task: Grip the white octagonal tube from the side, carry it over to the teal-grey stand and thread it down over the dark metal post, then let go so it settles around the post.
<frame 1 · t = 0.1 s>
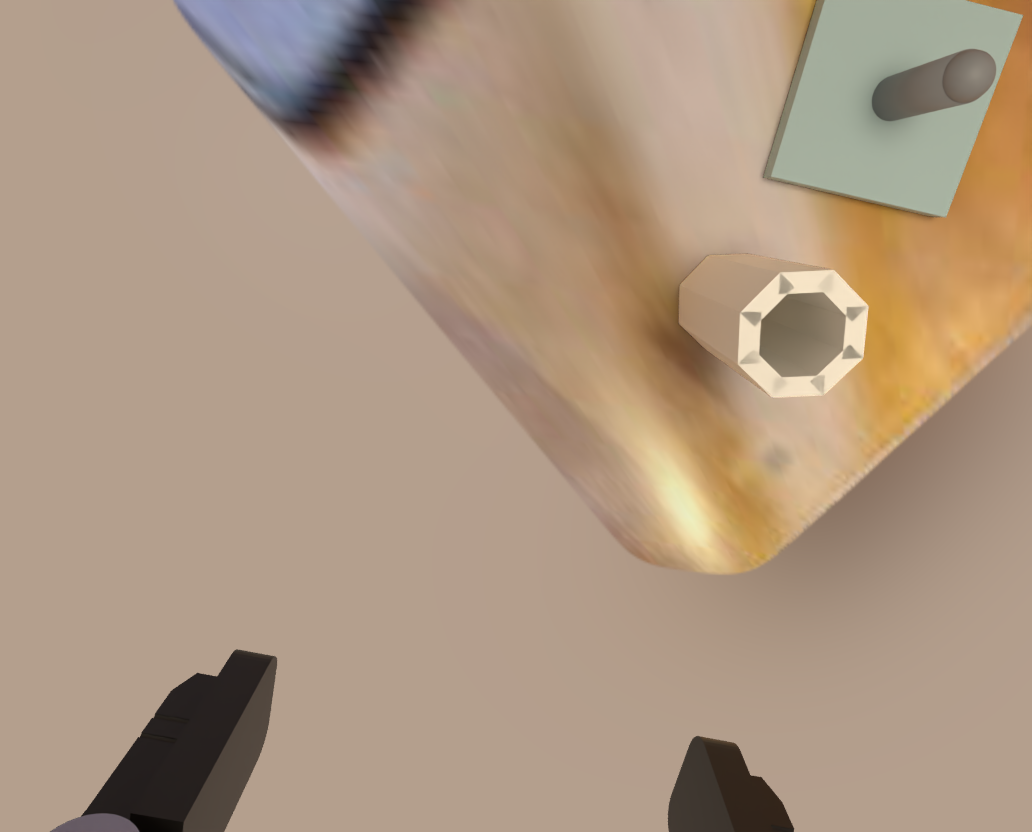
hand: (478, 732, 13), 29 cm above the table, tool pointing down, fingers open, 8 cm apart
white octagonal tube: (725, 302, 40), on the table
peg stand: (881, 101, 37), on the table
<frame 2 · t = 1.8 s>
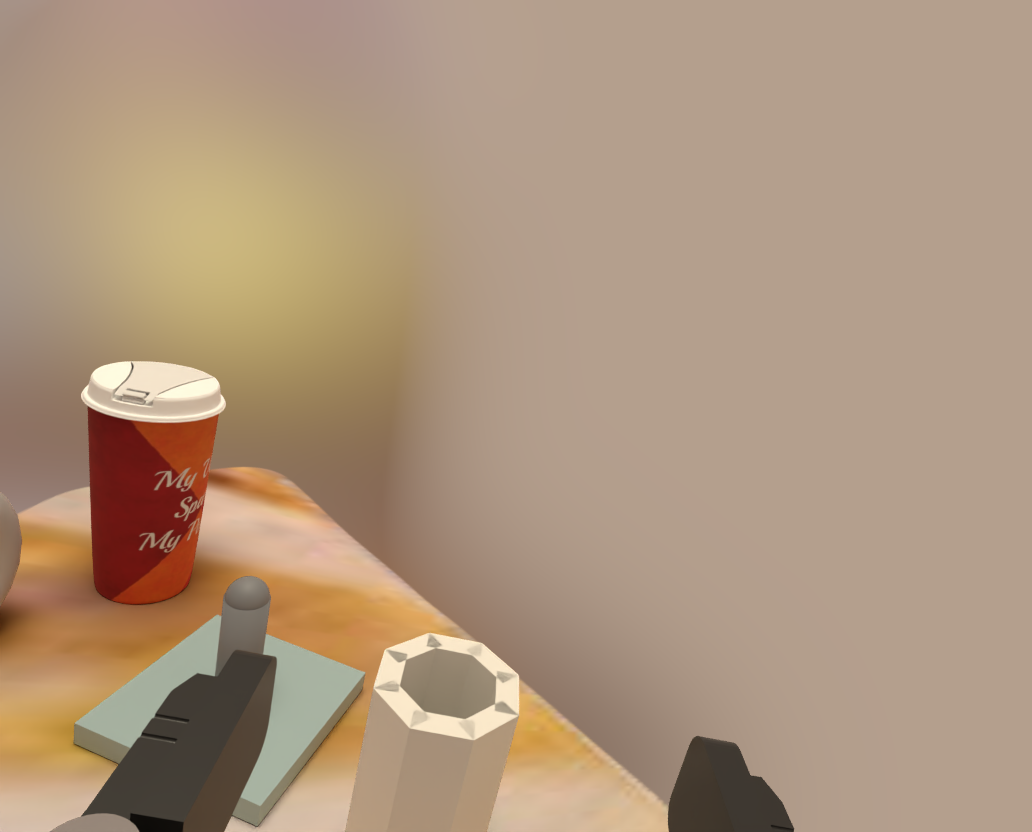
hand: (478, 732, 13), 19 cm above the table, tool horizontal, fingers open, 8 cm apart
paper cup: (144, 581, 45), on the table
peg stand: (233, 713, 36), on the table
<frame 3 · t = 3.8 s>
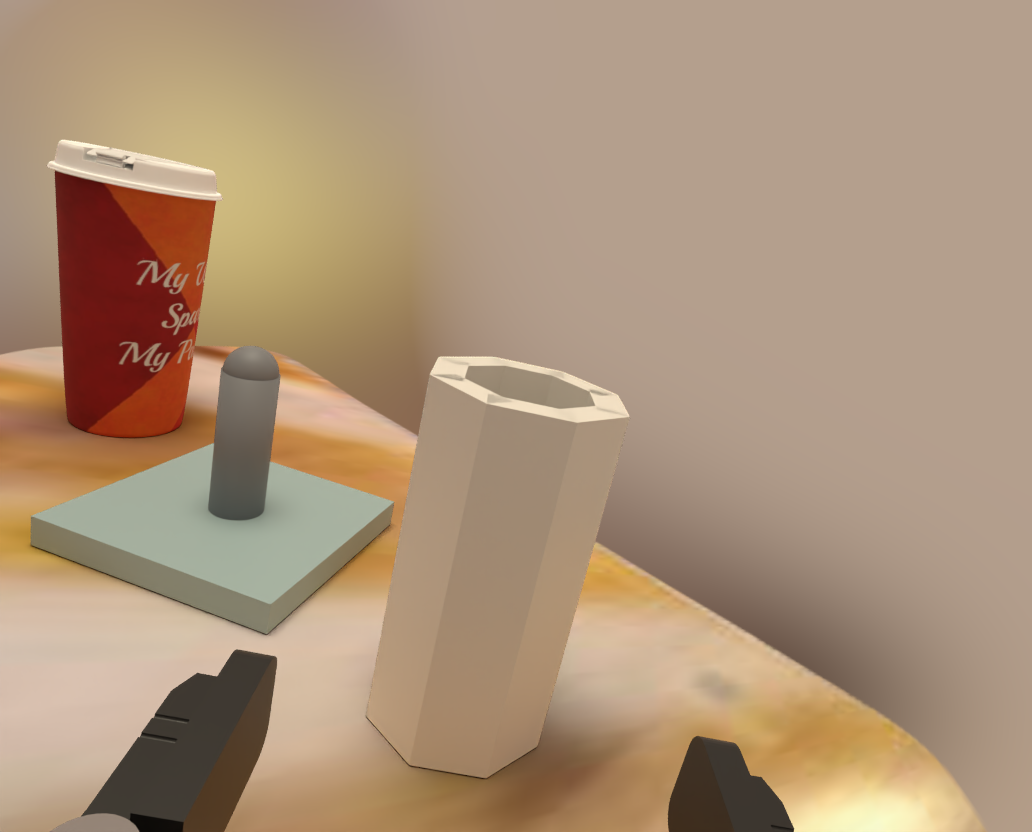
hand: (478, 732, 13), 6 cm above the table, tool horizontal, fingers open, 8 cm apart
paper cup: (127, 421, 38), on the table
white octagonal tube: (455, 705, 22), on the table
peg stand: (233, 533, 29), on the table
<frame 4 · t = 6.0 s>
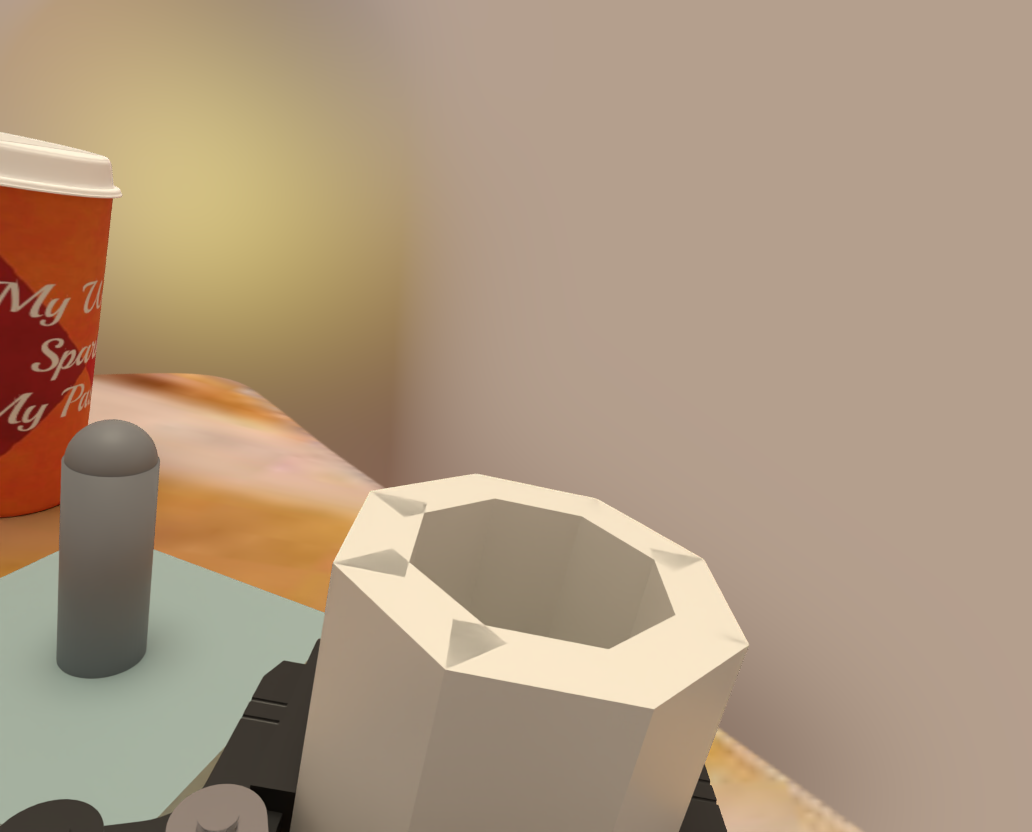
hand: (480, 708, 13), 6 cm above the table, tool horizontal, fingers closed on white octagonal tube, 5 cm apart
paper cup: (2, 490, 29), on the table
peg stand: (101, 686, 20), on the table
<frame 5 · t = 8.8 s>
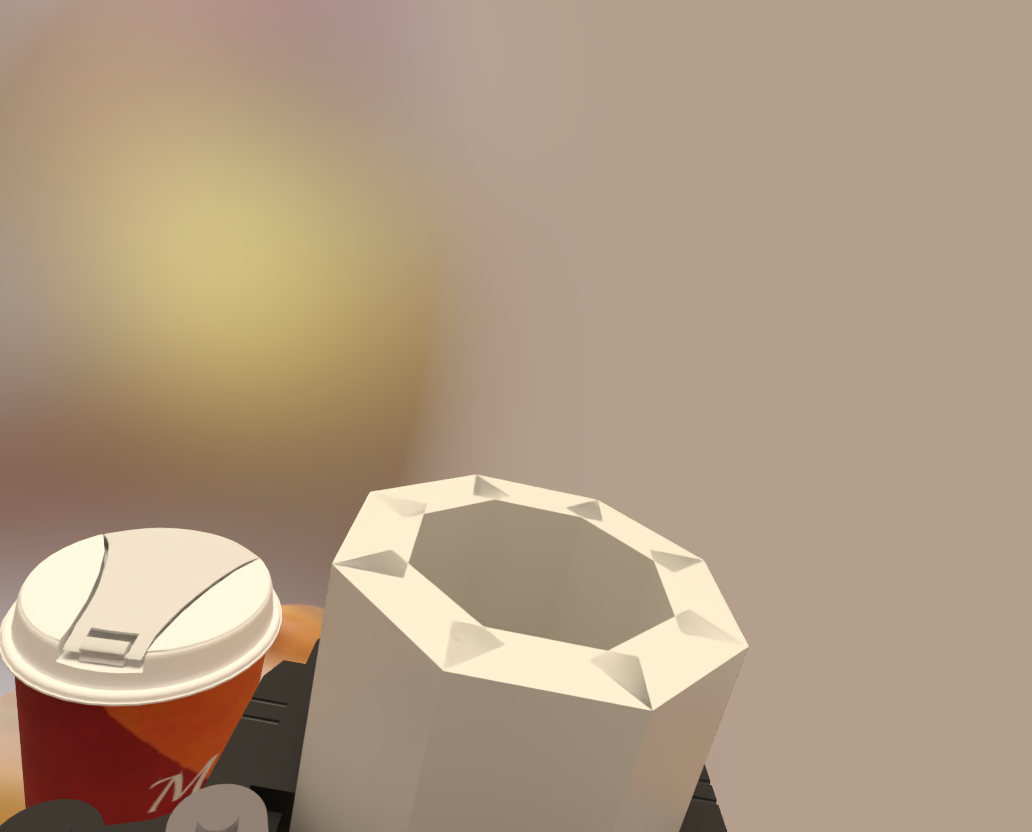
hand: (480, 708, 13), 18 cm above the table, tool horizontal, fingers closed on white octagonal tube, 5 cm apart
when the fingers open (8 cm above the table, at t = 11.4 s): white octagonal tube stays where it is, resting on peg stand.
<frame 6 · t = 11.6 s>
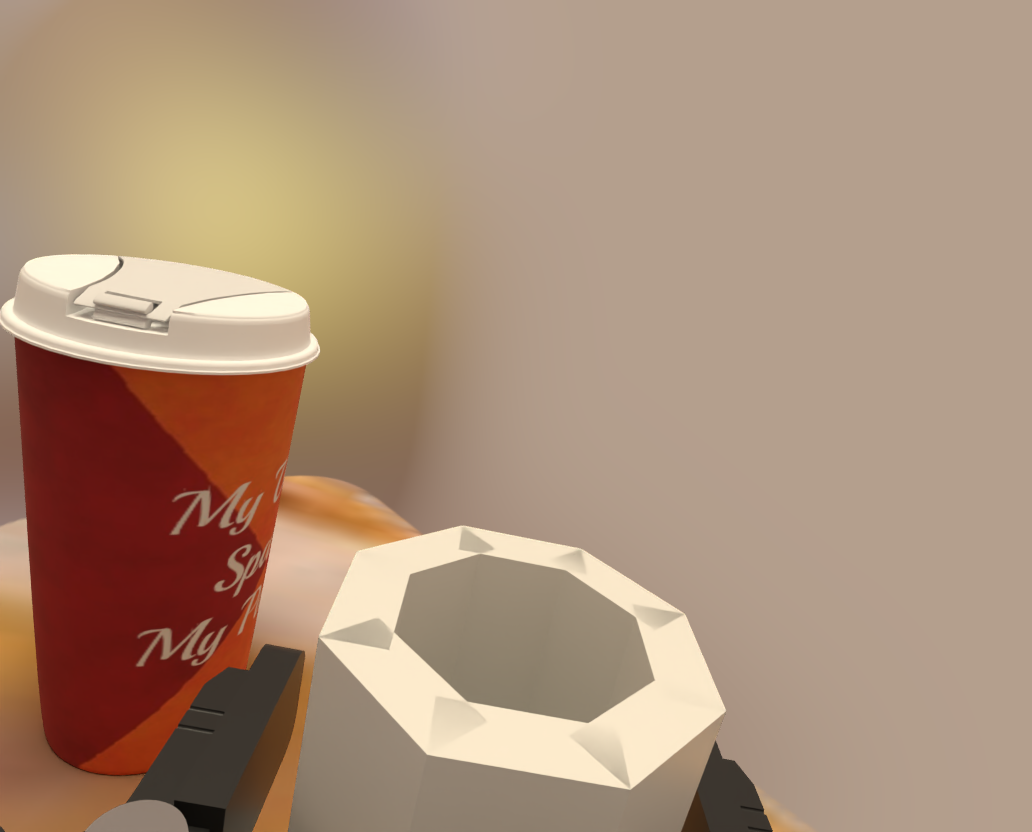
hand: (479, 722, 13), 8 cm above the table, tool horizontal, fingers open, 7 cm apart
paper cup: (147, 710, 22), on the table
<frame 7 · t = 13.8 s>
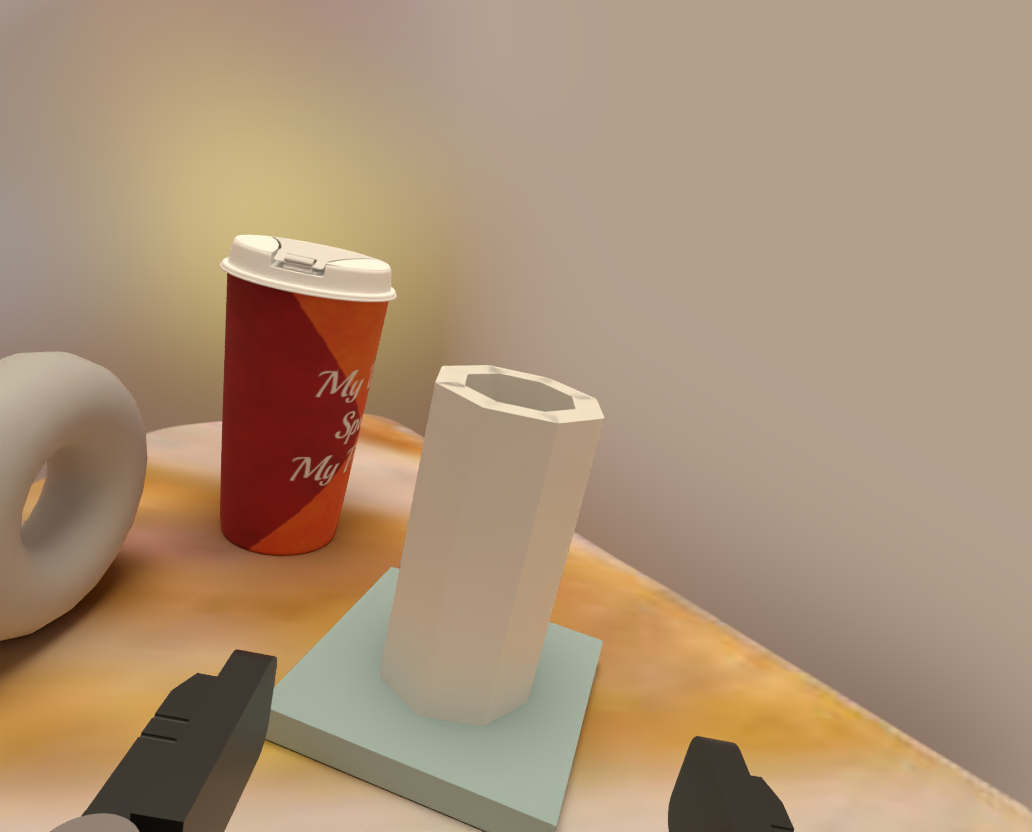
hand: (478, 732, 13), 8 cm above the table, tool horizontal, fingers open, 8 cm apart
paper cup: (279, 529, 35), on the table
white octagonal tube: (456, 669, 25), point 1 cm above the table, touching peg stand
peg stand: (449, 693, 26), on the table
donut: (33, 621, 25), on the table
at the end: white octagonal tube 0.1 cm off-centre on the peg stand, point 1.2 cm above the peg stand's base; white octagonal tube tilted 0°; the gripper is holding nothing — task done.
